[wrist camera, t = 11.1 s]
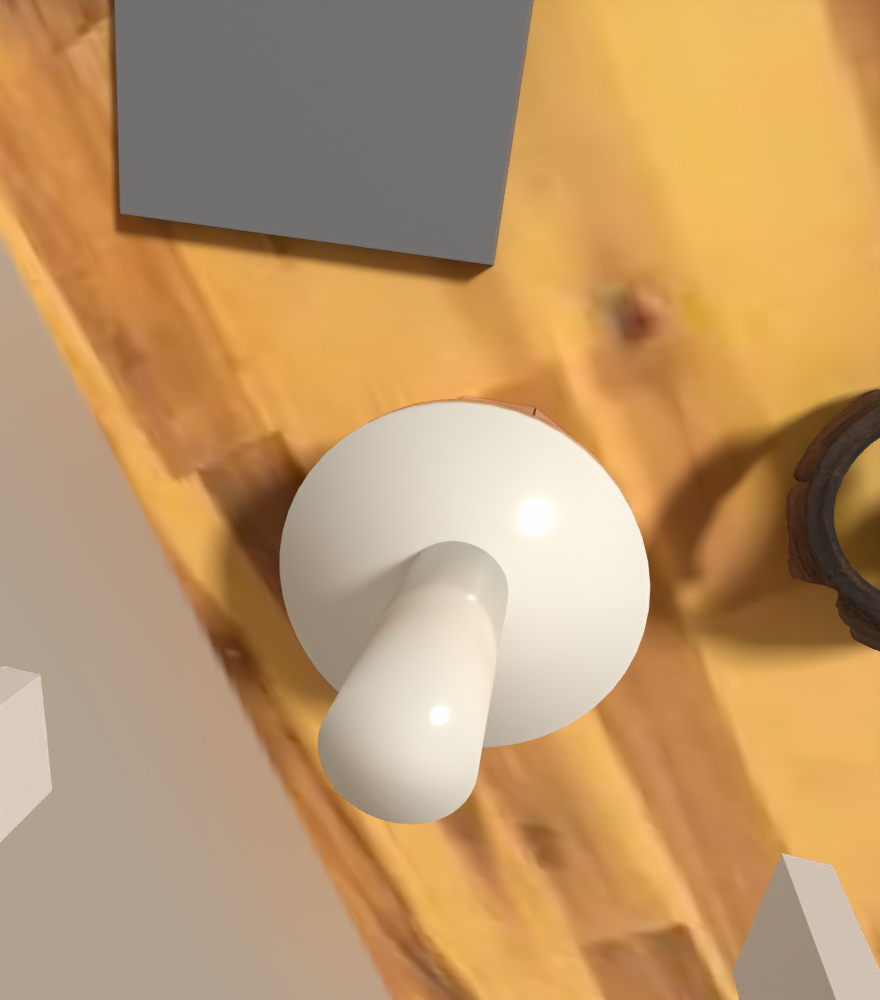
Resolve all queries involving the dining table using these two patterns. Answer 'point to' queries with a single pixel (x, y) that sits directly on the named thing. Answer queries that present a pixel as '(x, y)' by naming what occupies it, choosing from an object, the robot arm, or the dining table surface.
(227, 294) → the dining table surface
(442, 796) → the lid
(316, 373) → the dining table surface
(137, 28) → the mat
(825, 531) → the broken pottery
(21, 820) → the robot arm
